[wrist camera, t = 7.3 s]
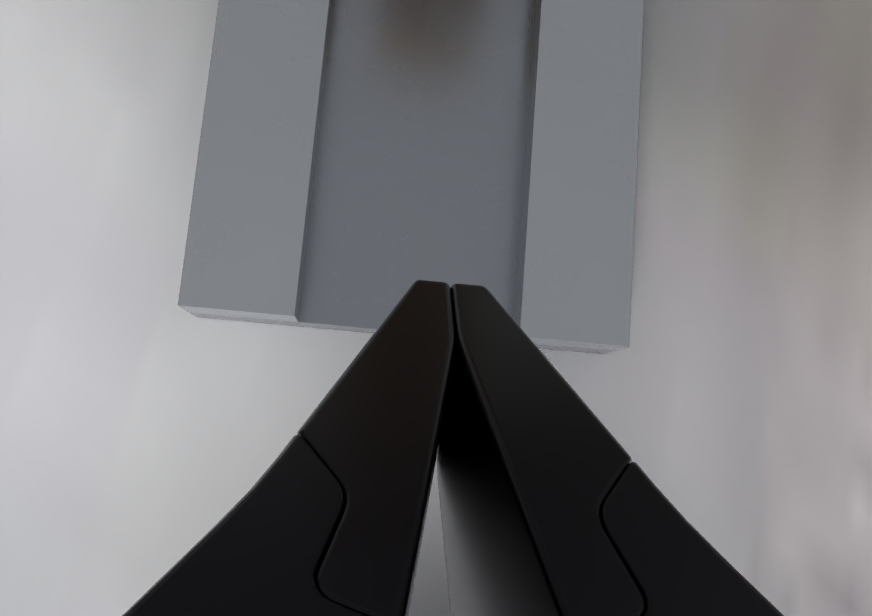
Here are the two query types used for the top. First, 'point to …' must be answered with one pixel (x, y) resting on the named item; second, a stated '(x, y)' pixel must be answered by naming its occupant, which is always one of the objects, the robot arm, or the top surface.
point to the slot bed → (419, 162)
